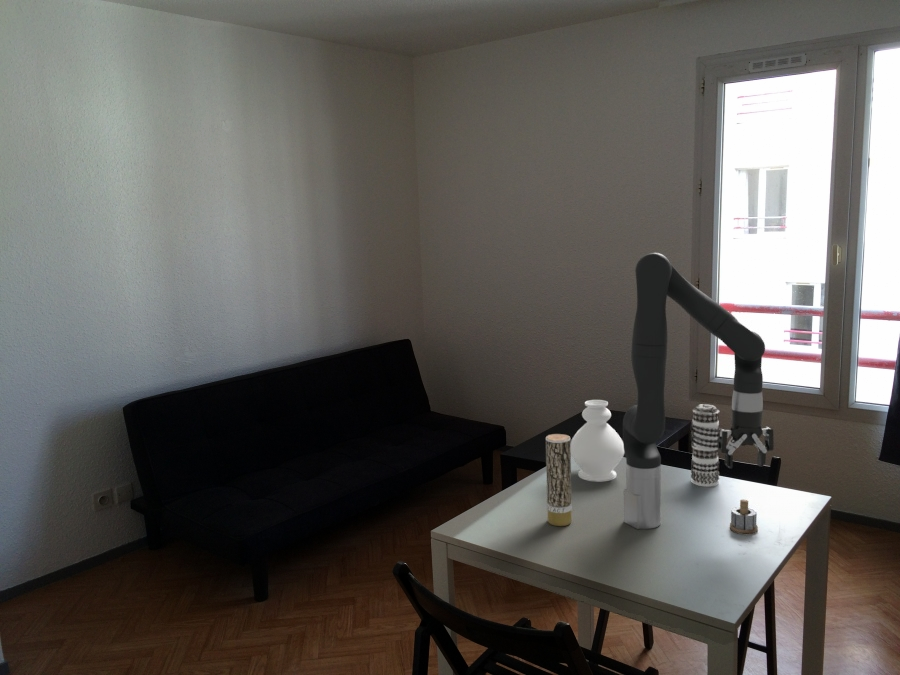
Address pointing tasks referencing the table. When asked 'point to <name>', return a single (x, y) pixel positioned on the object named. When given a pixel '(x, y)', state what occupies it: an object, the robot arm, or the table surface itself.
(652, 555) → the table surface
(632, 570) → the table surface
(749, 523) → the ring
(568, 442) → the paper tube
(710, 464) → the decorative candle
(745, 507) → the wooden peg stand
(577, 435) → the decorative vase
